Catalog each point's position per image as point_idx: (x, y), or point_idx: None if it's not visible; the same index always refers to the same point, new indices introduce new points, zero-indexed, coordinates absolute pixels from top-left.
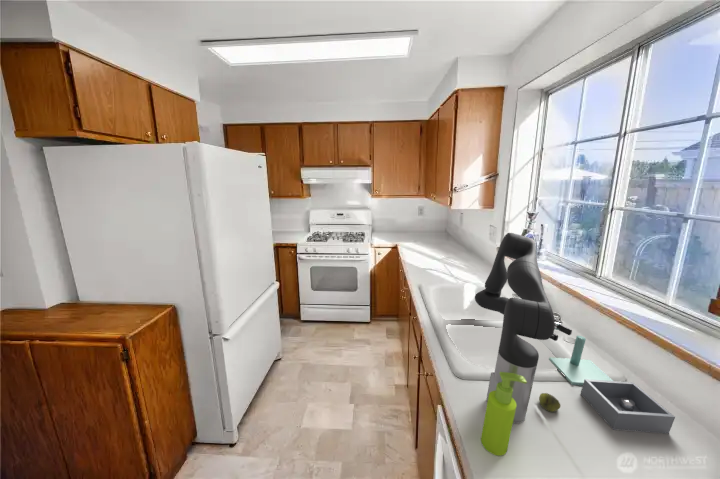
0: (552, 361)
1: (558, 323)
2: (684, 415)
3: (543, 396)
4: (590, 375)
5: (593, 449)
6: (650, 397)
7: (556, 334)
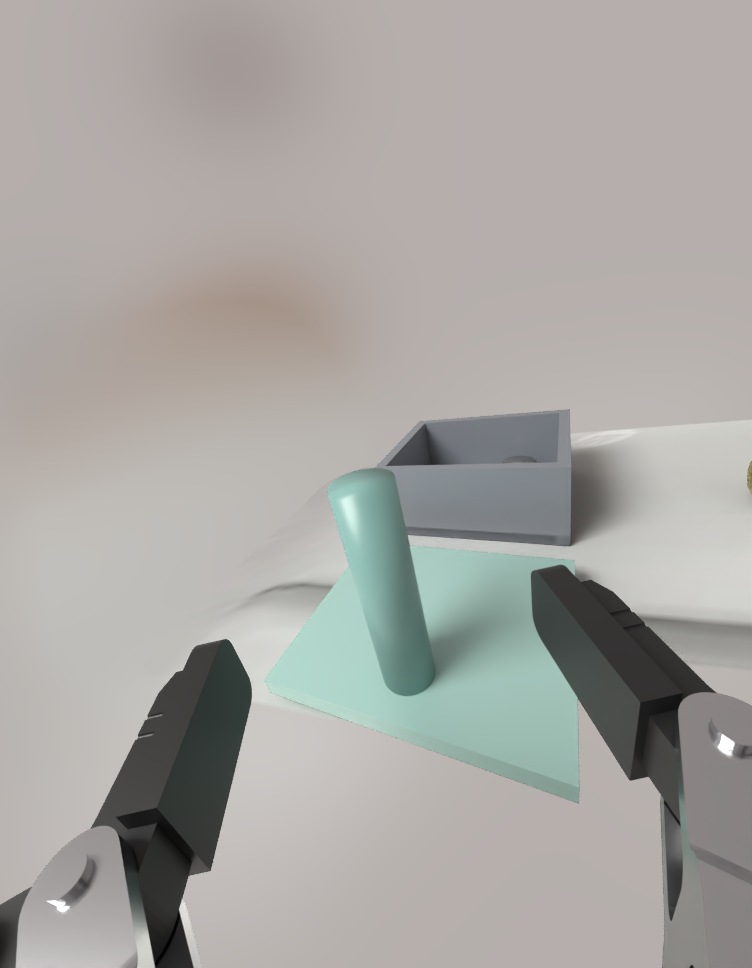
0: (577, 735)
1: (89, 892)
2: (310, 502)
3: None
4: (422, 584)
5: (672, 445)
6: (401, 443)
7: (546, 577)
